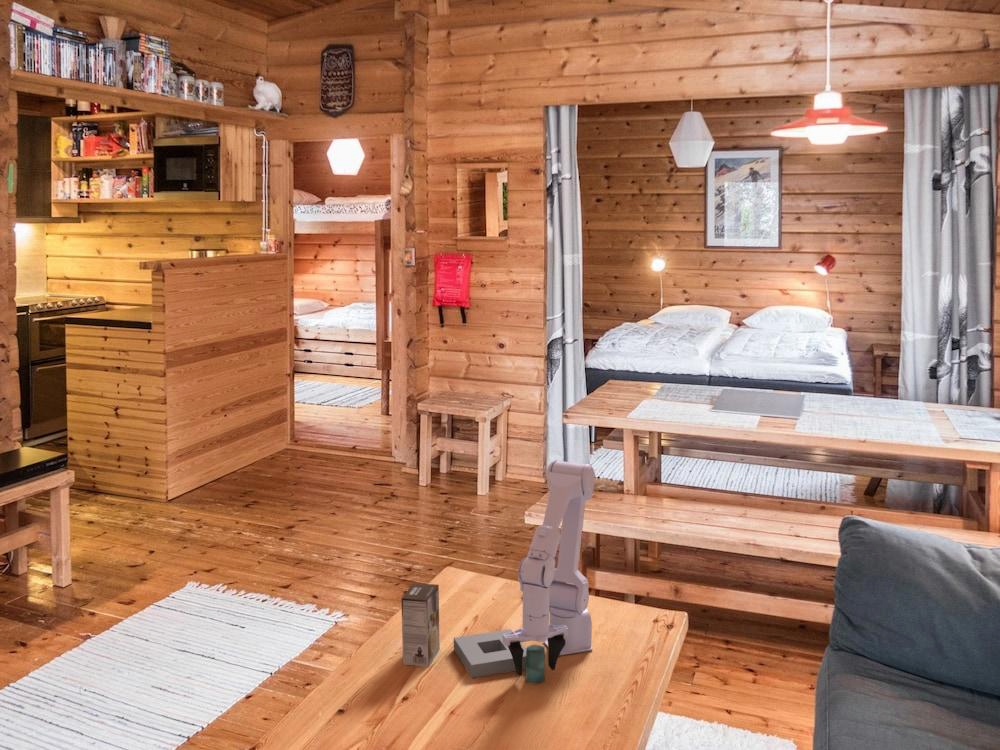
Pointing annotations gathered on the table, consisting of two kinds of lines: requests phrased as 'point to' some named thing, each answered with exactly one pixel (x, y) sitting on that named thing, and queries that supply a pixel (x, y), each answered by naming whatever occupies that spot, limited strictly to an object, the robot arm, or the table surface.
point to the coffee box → (420, 624)
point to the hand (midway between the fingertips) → (535, 670)
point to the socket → (486, 653)
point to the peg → (535, 664)
